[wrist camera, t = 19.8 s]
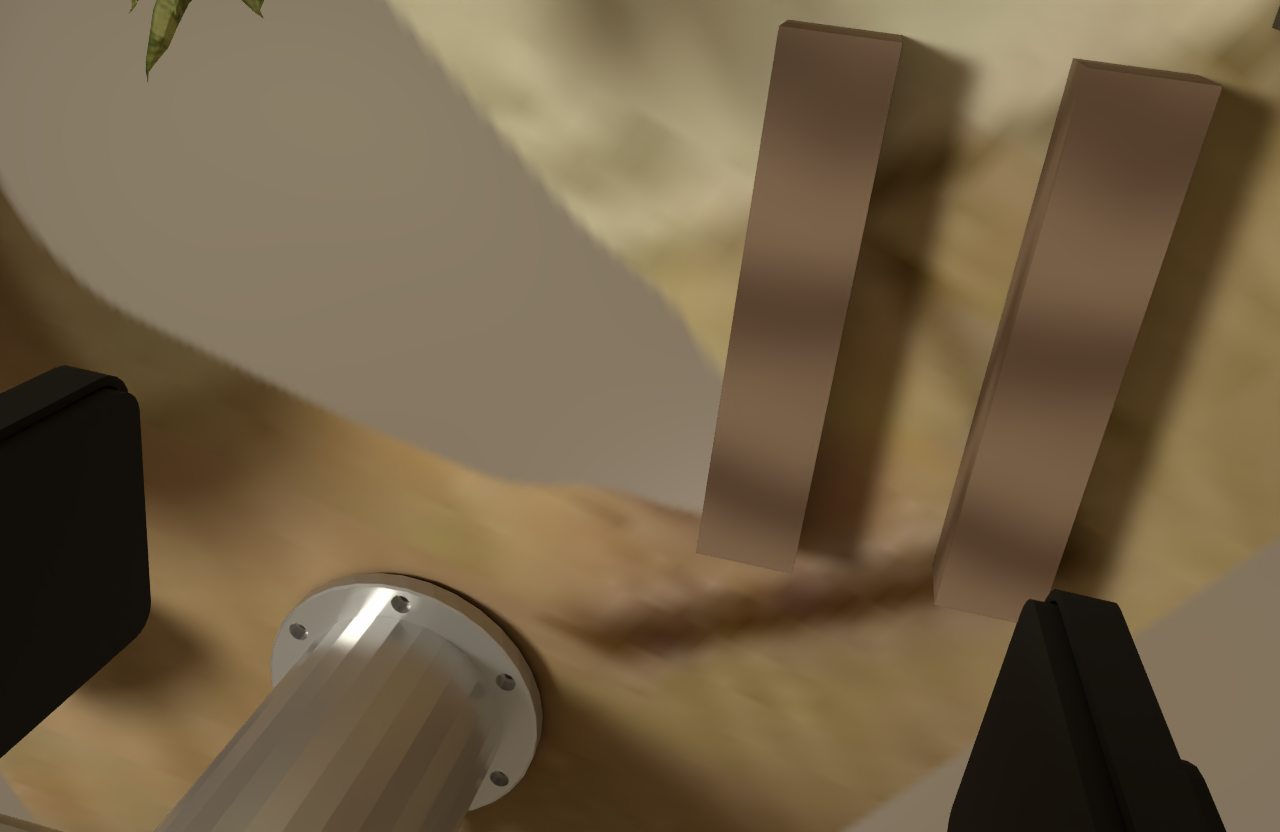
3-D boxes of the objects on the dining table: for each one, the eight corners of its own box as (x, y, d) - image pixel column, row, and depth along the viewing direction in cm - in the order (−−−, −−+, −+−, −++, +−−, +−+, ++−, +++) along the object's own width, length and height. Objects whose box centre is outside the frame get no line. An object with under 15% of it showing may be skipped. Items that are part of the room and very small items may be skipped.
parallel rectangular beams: (1029, 585, 38) (1038, 627, 36) (708, 517, 40) (696, 552, 38) (1198, 75, 30) (1222, 86, 28) (787, 19, 32) (779, 25, 30)
